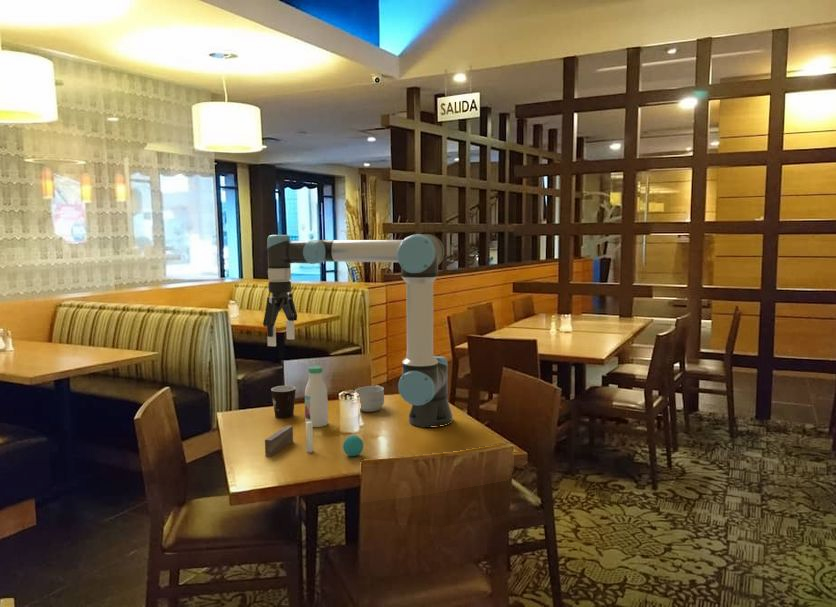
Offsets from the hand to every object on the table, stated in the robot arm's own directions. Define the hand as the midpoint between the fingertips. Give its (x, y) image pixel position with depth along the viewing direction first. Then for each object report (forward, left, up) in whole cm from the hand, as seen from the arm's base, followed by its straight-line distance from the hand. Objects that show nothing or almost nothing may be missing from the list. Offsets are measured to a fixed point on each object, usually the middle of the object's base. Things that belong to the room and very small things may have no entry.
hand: (281, 342), depth 217 cm
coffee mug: (+3, -5, -28) cm, 29 cm away
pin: (-21, +25, -28) cm, 43 cm away
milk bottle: (-12, 0, -28) cm, 31 cm away
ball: (-35, +25, -25) cm, 50 cm away
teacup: (-24, -23, -28) cm, 44 cm away
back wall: (-11, +25, -28) cm, 39 cm away
